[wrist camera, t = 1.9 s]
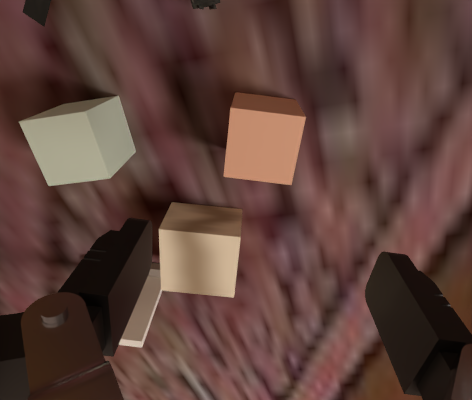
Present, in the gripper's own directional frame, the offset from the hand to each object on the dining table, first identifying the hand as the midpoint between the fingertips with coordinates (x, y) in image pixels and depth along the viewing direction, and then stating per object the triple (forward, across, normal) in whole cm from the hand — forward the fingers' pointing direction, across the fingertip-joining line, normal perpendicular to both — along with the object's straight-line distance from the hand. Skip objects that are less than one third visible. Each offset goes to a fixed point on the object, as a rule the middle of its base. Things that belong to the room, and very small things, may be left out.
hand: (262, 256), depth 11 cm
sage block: (+18, +14, +2) cm, 23 cm away
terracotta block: (+18, 0, 0) cm, 18 cm away
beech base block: (+18, +4, +12) cm, 22 cm away
